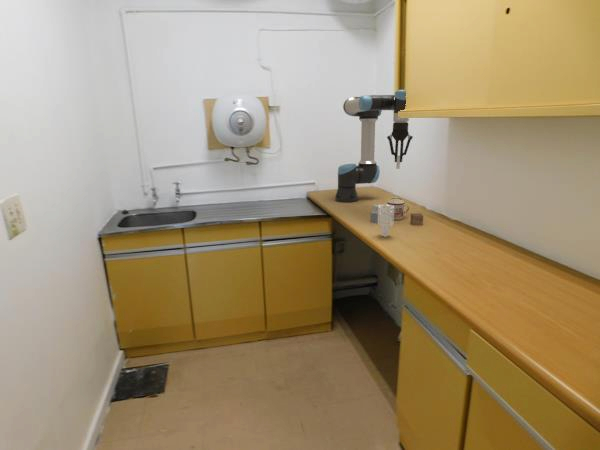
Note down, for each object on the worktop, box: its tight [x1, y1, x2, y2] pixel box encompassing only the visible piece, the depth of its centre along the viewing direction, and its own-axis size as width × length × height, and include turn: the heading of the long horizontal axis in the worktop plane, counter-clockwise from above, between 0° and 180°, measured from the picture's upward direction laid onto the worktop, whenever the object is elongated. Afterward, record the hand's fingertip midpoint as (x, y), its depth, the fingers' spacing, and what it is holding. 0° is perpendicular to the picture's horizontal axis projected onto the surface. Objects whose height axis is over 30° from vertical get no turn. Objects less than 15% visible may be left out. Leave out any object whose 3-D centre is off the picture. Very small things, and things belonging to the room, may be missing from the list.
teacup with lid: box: [386, 196, 410, 221], centre depth 200 cm, size 12×9×12 cm
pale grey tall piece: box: [377, 204, 395, 238], centre depth 169 cm, size 7×7×15 cm
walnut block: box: [409, 212, 424, 226], centre depth 189 cm, size 5×5×5 cm
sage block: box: [372, 204, 386, 212], centre depth 209 cm, size 5×5×5 cm
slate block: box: [369, 210, 378, 224], centre depth 195 cm, size 5×5×5 cm
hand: (397, 168), depth 197 cm, fingers closed
